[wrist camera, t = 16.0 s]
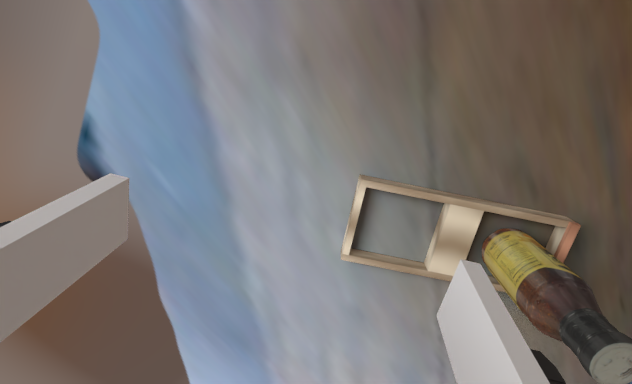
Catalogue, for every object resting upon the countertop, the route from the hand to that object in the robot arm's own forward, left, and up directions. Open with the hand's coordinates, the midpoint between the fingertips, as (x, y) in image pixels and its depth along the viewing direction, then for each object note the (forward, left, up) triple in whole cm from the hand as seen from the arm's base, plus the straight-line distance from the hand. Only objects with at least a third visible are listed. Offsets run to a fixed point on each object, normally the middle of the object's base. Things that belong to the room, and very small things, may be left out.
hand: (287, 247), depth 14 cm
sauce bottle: (+10, +26, -30) cm, 40 cm away
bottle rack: (+10, +19, -30) cm, 36 cm away
